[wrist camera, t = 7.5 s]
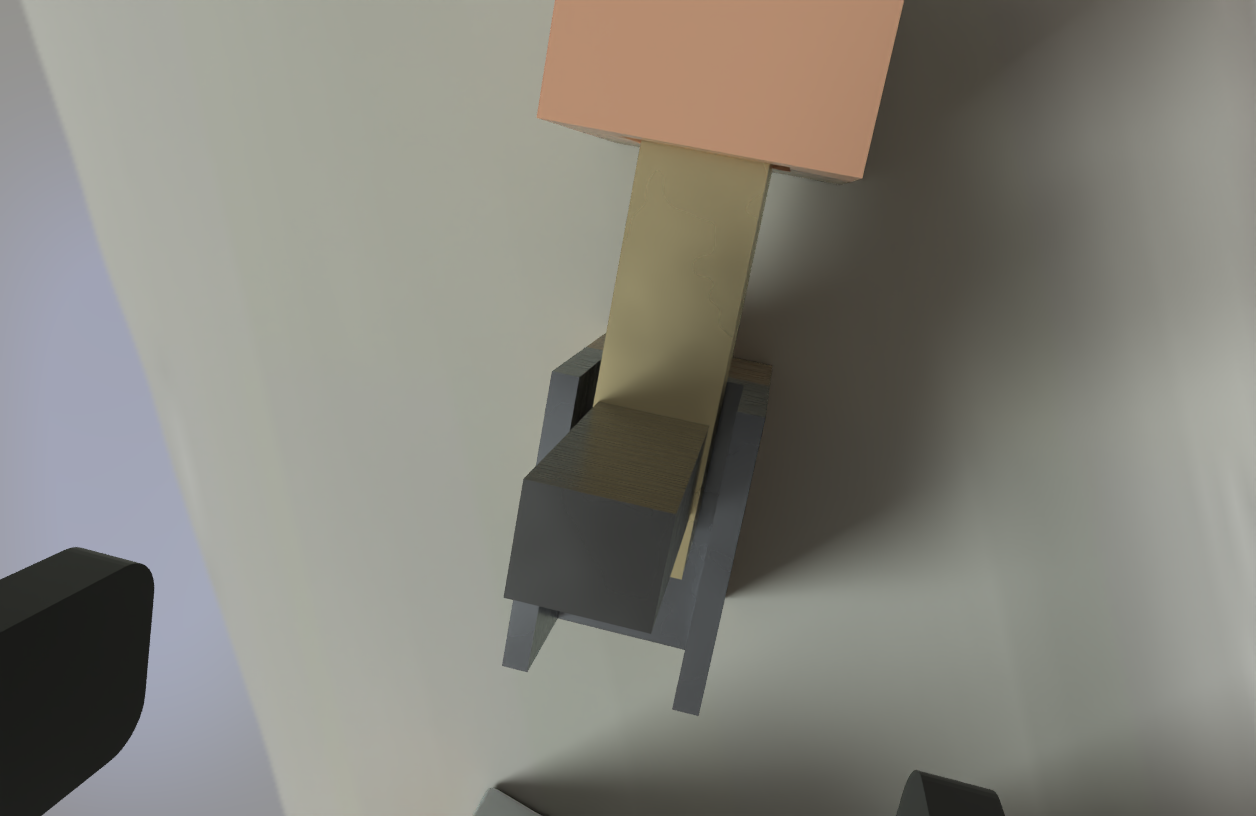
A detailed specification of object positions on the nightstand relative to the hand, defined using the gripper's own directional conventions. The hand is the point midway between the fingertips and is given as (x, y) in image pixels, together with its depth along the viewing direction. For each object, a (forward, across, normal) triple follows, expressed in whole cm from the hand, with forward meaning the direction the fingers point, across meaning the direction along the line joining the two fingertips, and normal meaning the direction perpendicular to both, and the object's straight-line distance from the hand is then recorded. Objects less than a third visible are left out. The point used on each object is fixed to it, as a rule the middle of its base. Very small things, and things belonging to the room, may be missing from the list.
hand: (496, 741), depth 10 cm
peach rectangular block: (+18, 0, -9) cm, 20 cm away
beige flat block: (+14, 0, -4) cm, 14 cm away
